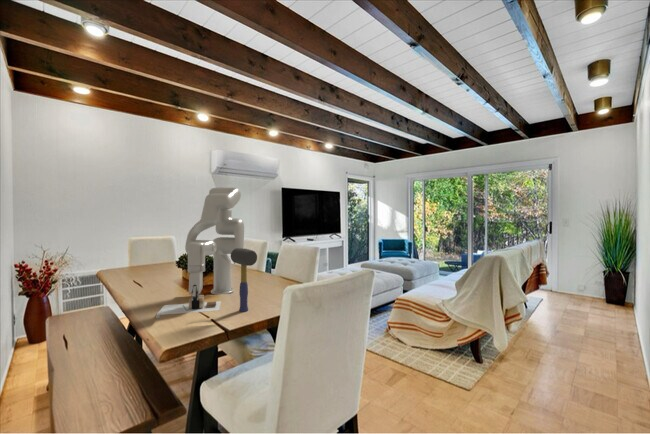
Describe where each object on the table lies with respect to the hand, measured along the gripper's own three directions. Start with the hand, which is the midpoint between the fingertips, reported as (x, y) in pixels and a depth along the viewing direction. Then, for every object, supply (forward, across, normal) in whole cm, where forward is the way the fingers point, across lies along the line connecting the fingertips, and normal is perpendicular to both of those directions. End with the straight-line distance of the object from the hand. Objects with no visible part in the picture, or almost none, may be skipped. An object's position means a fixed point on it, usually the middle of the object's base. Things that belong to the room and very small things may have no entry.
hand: (196, 306), depth 142 cm
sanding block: (+1, 0, 0) cm, 1 cm away
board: (+2, 0, -2) cm, 3 cm away
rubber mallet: (+2, +10, +22) cm, 24 cm away
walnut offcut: (+1, 0, +6) cm, 7 cm away
